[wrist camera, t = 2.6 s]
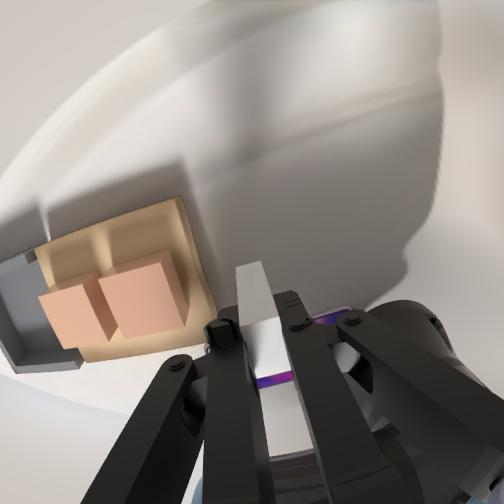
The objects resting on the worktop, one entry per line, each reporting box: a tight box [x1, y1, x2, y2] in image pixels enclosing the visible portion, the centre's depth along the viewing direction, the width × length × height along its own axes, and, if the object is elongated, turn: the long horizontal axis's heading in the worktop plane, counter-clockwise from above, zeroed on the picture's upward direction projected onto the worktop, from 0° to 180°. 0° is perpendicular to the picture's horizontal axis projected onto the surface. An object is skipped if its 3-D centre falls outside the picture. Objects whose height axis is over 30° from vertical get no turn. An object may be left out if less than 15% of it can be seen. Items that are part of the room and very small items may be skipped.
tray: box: [0, 242, 85, 374], centre depth 23 cm, size 12×11×4 cm
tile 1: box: [38, 270, 118, 349], centre depth 21 cm, size 5×5×3 cm
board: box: [34, 195, 218, 363], centre depth 24 cm, size 12×14×3 cm
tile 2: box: [98, 250, 190, 339], centre depth 21 cm, size 5×5×3 cm
